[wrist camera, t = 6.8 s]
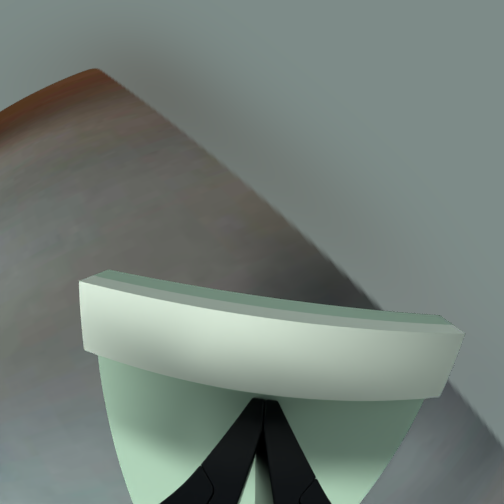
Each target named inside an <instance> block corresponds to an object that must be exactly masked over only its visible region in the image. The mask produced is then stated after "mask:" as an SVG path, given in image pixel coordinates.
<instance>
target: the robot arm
mask: <svg viewBox="0 0 504 504" xmlns="http://www.w3.org/2000/svg"><path fill="white" fill-rule="evenodd" d="M255 455H256V457H255ZM254 458H255V504H332V503H331V502H330V500H329V499H328V497H327V496H326V494H325V492H324V490H323V489H322V487H321V485H320V483H319V481H318V479H315V478H316V476H315V474H314V472H313V470H312V468H311V466H310V464H309V462H308V460H307V458H306V457H305V455H304V453H303V451H302V449H301V447H300V445H299V443H298V441H297V439H296V437H295V435H294V433H293V431H292V429H291V427H290V425H289V423H288V420H287V418H286V416H285V414H284V412H283V410H282V408H281V406H280V404H279V402H278V401H277V400H269V399H267V400H264V399H261V398H252V399H251V400H250V401H249V403H248V404H247V406H246V407H245V408H244V410H243V411H242V412H241V414H240V415H239V416H238V418H237V419H236V420H235V422H234V423H233V424H232V426H231V427H230V428H229V430H228V431H227V432H226V434H225V435H224V436H223V437H222V439H221V440H220V441H219V442H218V444H217V445H216V446H215V447H214V449H213V450H212V451H211V452H210V454H209V455H208V456H207V457H206V459H205V460H204V461H203V462H202V463H201V466H199V467H198V468H197V469H196V470H195V472H194V473H193V474H192V475H191V476H190V477H189V478H188V479H187V480H186V481H185V482H184V483H183V484H182V485H181V486H180V487H179V488H178V489H177V490H176V491H174V492H173V493H172V494H171V495H170V496H168V497H167V498H166V499H165V500H163V501H162V502H161V503H159V504H240V502H241V499H242V496H243V493H244V490H245V487H246V484H247V481H248V478H249V475H250V471H251V468H252V465H253V462H254Z"/></svg>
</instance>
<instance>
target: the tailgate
mask: <svg viewBox="0 0 504 504" xmlns="http://www.w3.org/2000/svg"><path fill="white" fill-rule="evenodd" d="M79 293H80V311H81V324H82V334H83V343H84V350H86V351H88V352H91V353H94V354H97V355H98V360H99V368H100V375H101V382H102V388H103V394H104V400H105V405H106V410H107V415H108V420H109V424H110V429H111V433H112V437H113V441H114V445H115V449H116V452H117V456H118V459H119V463H120V466H121V469H122V473H123V476H124V479H125V482H126V485H127V488H128V491H129V493H130V496H131V499H132V502H133V504H159V503H161V502H162V501H163V500H165V499H166V498H167V497H168V496H170V495H171V494H172V493H173V492H174V491H176V490H177V489H178V488H179V487H180V486H181V485H182V484H183V483H184V482H185V481H186V480H187V479H188V478H189V477H190V476H191V475H192V474H193V473H194V472H195V470H196V469H197V468H198V467H199V466H201V463H202V462H203V461H204V460H205V459H206V457H207V456H208V455H209V454H210V452H211V451H212V450H213V449H214V447H215V446H216V445H217V444H218V442H219V441H220V440H221V439H222V437H223V436H224V435H225V434H226V432H227V431H228V430H229V428H230V427H231V426H232V424H233V423H234V422H235V420H236V419H237V418H238V416H239V415H240V414H241V412H242V411H243V410H244V408H245V407H246V406H247V404H248V403H249V401H250V400H251V399H252V398H261V399H264V400H267V399H269V400H277V401H278V402H279V404H280V406H281V408H282V410H283V412H284V414H285V416H286V418H287V420H288V423H289V425H290V427H291V429H292V431H293V433H294V435H295V437H296V439H297V441H298V443H299V445H300V447H301V449H302V451H303V453H304V455H305V457H306V458H307V460H308V462H309V464H310V466H311V468H312V470H313V472H314V474H315V476H316V478H315V479H318V481H319V483H320V485H321V487H322V489H323V490H324V492H325V494H326V496H327V497H328V499H329V500H330V502H331V503H332V504H359V503H360V502H361V501H362V500H363V498H364V497H365V496H366V494H367V493H368V492H369V490H370V489H371V488H372V486H373V485H374V484H375V482H376V481H377V479H378V478H379V477H380V475H381V474H382V472H383V471H384V469H385V468H386V466H387V465H388V463H389V462H390V460H391V459H392V457H393V456H394V454H395V452H396V451H397V449H398V447H399V446H400V444H401V442H402V441H403V439H404V437H405V436H406V434H407V432H408V430H409V428H410V427H411V425H412V423H413V421H414V419H415V417H416V415H417V413H418V411H419V409H420V407H421V405H422V403H423V401H424V399H425V398H435V397H440V395H441V393H442V391H443V389H444V387H445V385H446V382H447V380H448V378H449V376H450V373H451V371H452V368H453V366H454V364H455V361H456V358H457V356H458V353H459V350H460V348H461V345H462V342H463V339H464V336H465V333H464V332H462V331H461V330H460V329H458V328H457V327H455V326H454V325H453V324H451V323H450V322H449V321H447V320H446V319H444V318H443V317H441V316H440V315H428V314H415V313H403V312H391V311H380V310H370V309H360V308H351V307H341V306H333V305H324V304H316V303H308V302H300V301H292V300H285V299H277V298H270V297H263V296H256V295H249V294H243V293H236V292H229V291H223V290H217V289H211V288H205V287H199V286H193V285H187V284H181V283H176V282H170V281H164V280H159V279H154V278H148V277H143V276H138V275H133V274H128V273H123V272H118V271H113V270H106V271H104V272H101V273H99V274H96V275H93V276H91V277H88V278H86V279H83V280H80V281H79ZM255 457H256V455H255ZM240 504H255V458H254V462H253V465H252V468H251V471H250V475H249V478H248V481H247V484H246V487H245V490H244V493H243V496H242V499H241V502H240Z"/></svg>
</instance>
